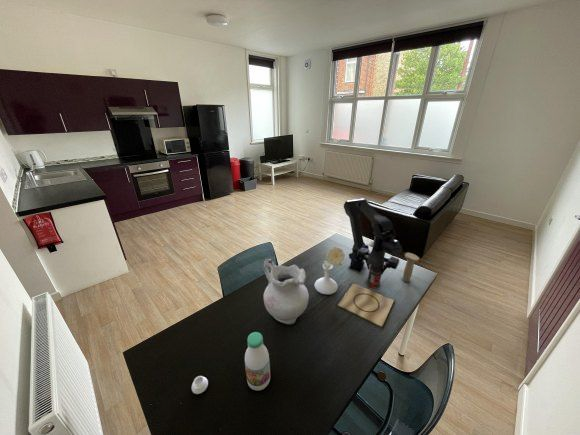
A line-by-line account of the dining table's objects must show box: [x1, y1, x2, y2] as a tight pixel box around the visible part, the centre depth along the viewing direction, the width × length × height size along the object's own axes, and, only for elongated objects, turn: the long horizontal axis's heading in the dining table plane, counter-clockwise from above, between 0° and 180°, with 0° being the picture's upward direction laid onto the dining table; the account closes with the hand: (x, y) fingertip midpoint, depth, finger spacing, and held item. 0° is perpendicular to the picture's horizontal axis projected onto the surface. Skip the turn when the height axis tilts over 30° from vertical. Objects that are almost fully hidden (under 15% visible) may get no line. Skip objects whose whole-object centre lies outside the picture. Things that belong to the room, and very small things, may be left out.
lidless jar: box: [191, 375, 209, 395], centre depth 77 cm, size 5×3×5 cm
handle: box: [402, 252, 420, 283], centre depth 121 cm, size 5×6×15 cm
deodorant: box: [366, 263, 385, 289], centre depth 119 cm, size 6×6×15 cm
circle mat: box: [337, 282, 395, 328], centre depth 110 cm, size 20×18×1 cm
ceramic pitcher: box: [263, 257, 310, 325], centre depth 101 cm, size 22×20×25 cm
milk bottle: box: [244, 331, 271, 391], centre depth 76 cm, size 8×8×20 cm
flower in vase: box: [314, 246, 345, 295], centre depth 113 cm, size 13×11×25 cm
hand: (375, 271), depth 119 cm, fingers closed on deodorant, 6 cm apart
